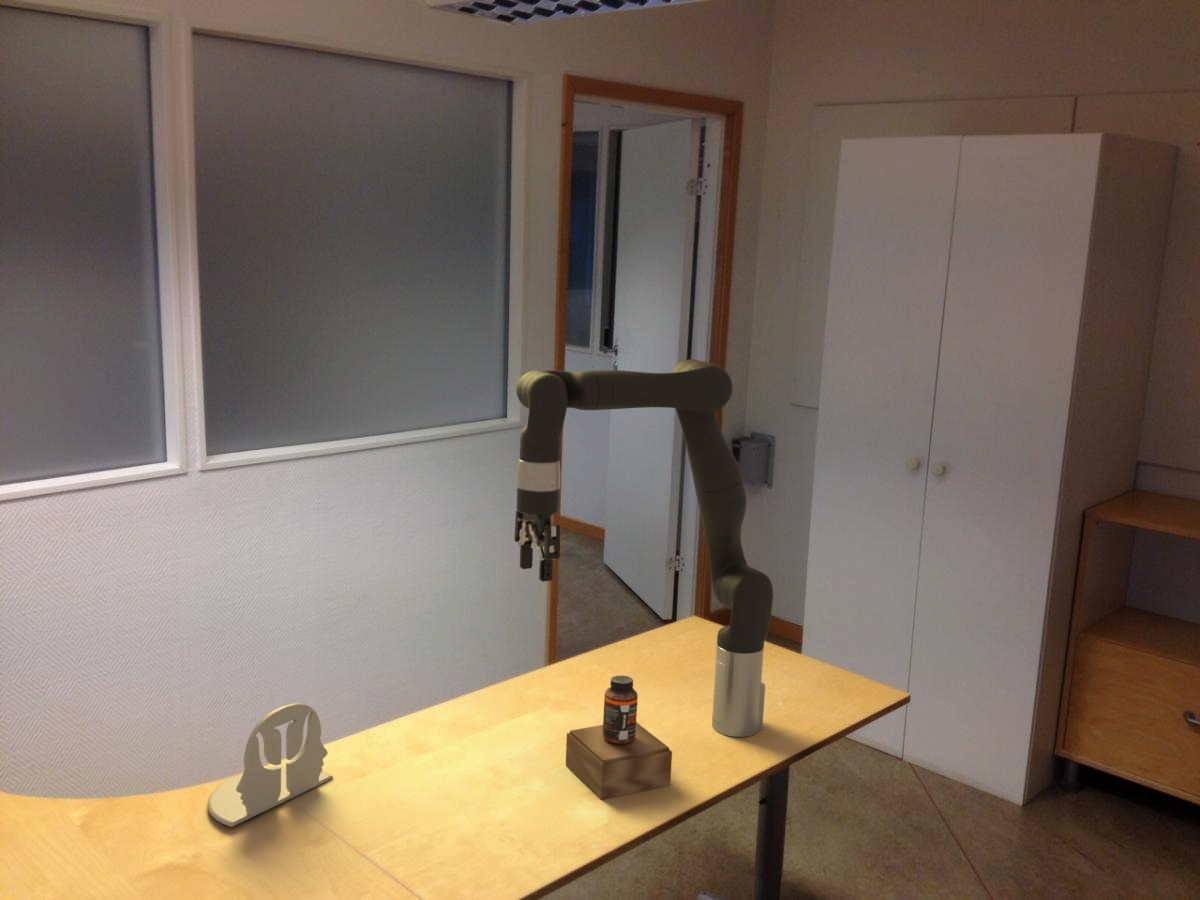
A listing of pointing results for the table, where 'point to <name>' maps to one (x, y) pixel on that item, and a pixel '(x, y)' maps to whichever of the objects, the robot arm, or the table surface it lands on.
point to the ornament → (274, 783)
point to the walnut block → (618, 762)
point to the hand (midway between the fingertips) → (535, 574)
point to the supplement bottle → (620, 711)
